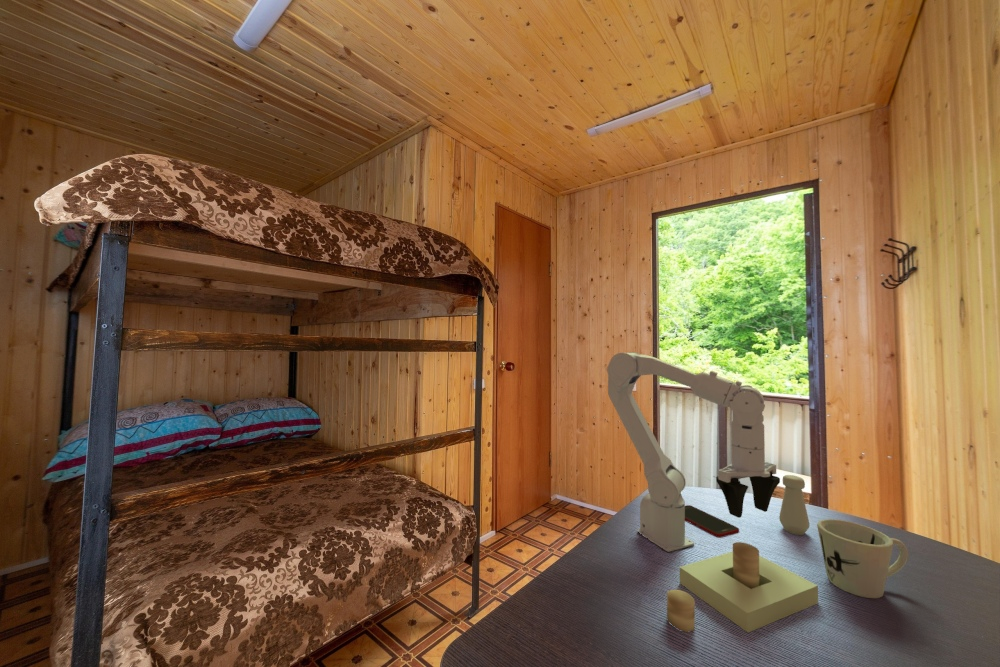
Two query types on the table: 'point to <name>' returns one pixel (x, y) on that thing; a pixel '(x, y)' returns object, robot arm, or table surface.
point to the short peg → (681, 610)
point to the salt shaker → (794, 506)
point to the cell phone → (709, 522)
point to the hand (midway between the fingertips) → (748, 512)
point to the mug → (858, 557)
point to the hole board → (749, 591)
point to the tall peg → (746, 564)
